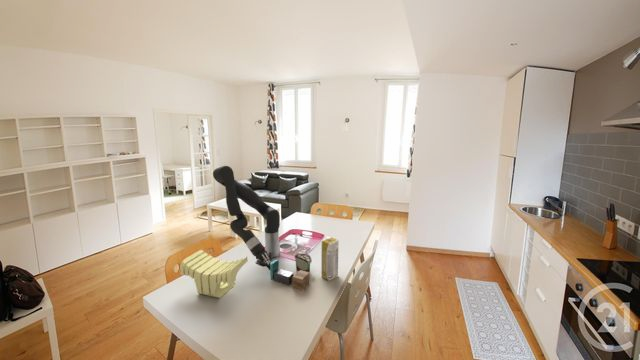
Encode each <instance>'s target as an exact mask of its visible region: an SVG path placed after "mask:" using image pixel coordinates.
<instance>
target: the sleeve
mask: <svg viewBox="0 0 640 360" xmlns="http://www.w3.org/2000/svg"><path fill="white" fill-rule="evenodd" d="M294 275H295V272H292V271H289V270H287V269H282V268H279V269H278V270H277V271H275V272H274V280H273V281H274V282H276V283H278V284H281V285H282V284H283V285H286V286H290V285H292V284H293V282H290V279H289V278H290V277H291V276H294Z"/></svg>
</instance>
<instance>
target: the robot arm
mask: <svg viewBox="0 0 640 360" xmlns="http://www.w3.org/2000/svg"><path fill="white" fill-rule="evenodd" d="M234 173H235V172H234V170H233V169H232V167H231V166H229V165H222V166H219V167H216V168H215V169H214V170H213V172H212V177H213V179H214V180H215V181H216V182H217V183H219V184H220V185H221V186H223V187H224V188H225V194H226V196H225V203H226V206H227V210H228V213H229V215H230V216H231V217H236V218H235V219H234V220H232V221H231V222H230V224H229V226H230V230H231V231H232V232H233V233H234V234H235V235H237V236H238V237H239V238H241V240H242V241H243V243H244V244H245V246H246V247H247V249H248V250H249V251H250V253H251V254H252V255H253V257H254V258H256V261H255V262H254V263H255V264H256V265H257V266H260V267H263V268H267V269H268V270H269V271H270V263H272V262H273V258H276V257H279V255H280V253H281V250H280V249H281V246H280V242H281V241H280V238H279V237H280V236H279V235H280V233H279V232H280V231H279V229H280V217H281V215H280V212H279V210H278V209H276V208H274V207H272V206H270V205H269V204H267V203H266V202H264V201H263V199H262V198H261V196H260V195H259V194H258V193H257V192H256V191H255V190H254V189H252V188H251V187H250V186H248V185H246V184H244V183H242V182H239V181H238V180H236V179H235V174H234ZM239 199H240V200H241V201H242V202H243V203H244V204H246V205H247V206H248V207H250V208H252V209H254V211H255V210H256V211H257V213H258V214H260V216H262V218H263V219H265V221H266V226H265V227H264V238H265V239H264V243H265V244H264V245H263V243H262V242H261V241H260V240H259V238H258V237H257V236H256V234H254V232H253V231H252V230H251V229H246V228H248V224H249V222H248V219H247V217H246V216H245V214H244V212H243V211H242V209H241V205H240V201H239Z"/></svg>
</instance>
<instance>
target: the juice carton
mask: <svg viewBox="0 0 640 360" xmlns="http://www.w3.org/2000/svg"><path fill="white" fill-rule="evenodd" d="M320 260H321V262H320V263H321V267H320V268H321V271H320V273H321V278H323V279H325V280H327V281H328V282H330V281H331V280H333V279H335V278H337V277H339V240H338V239H336V238H334V237H330V236H327V237H325V239H322V240H321V259H320Z"/></svg>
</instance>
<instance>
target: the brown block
mask: <svg viewBox="0 0 640 360" xmlns="http://www.w3.org/2000/svg"><path fill="white" fill-rule="evenodd" d="M310 277H311V276H310V273H309V272H306V271H302V270H300V271H297V272H296V273H294V276H293V282H292V289H294V290H296V291H300V292H303V291H305V289H306V288H308V286H309V285H310V284H311V283H310V282H311V281H310Z"/></svg>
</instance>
